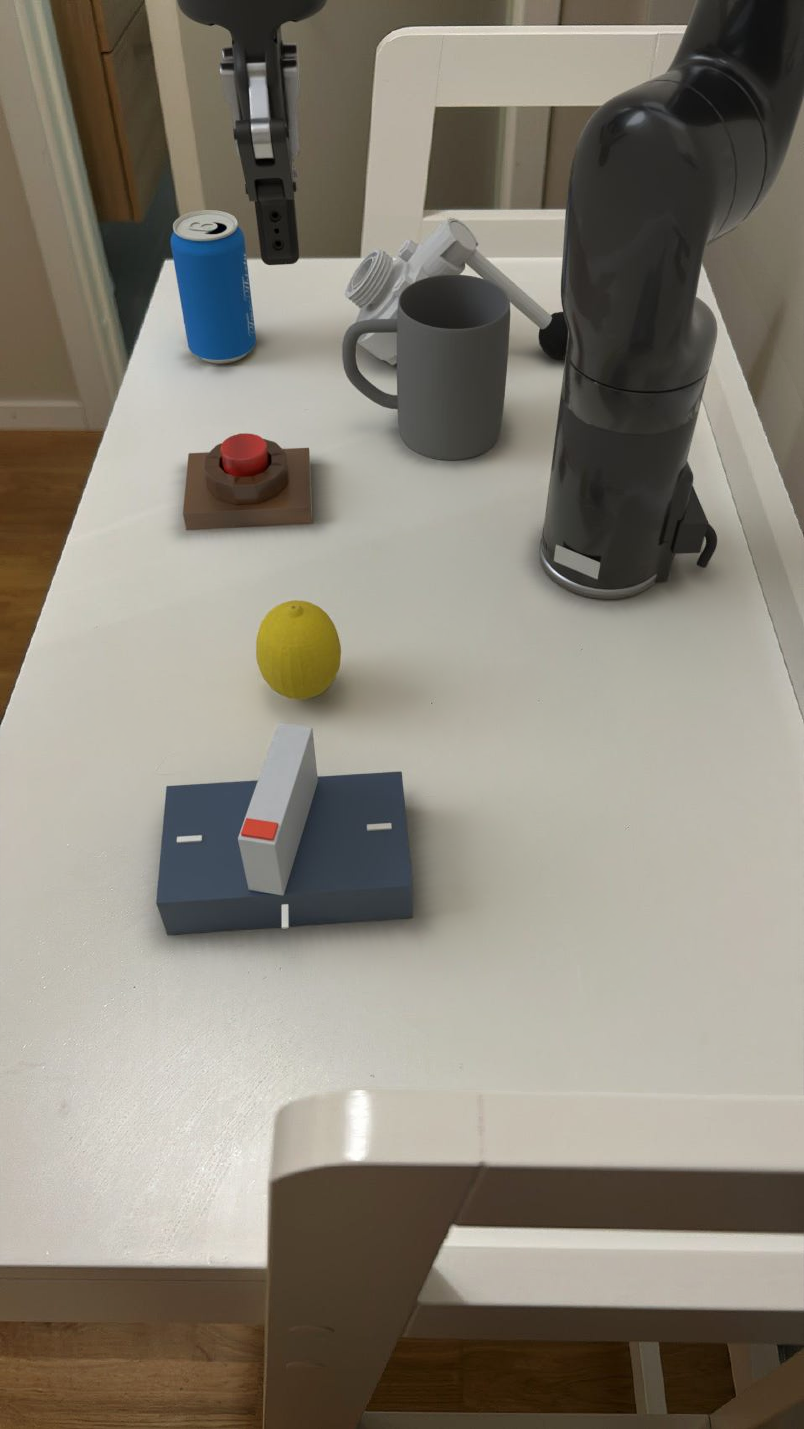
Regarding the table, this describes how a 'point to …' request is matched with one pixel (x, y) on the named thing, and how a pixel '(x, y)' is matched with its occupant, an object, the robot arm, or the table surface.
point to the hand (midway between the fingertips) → (281, 258)
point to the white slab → (279, 809)
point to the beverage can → (213, 285)
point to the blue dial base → (327, 867)
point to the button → (244, 455)
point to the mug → (444, 364)
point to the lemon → (298, 649)
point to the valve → (438, 255)
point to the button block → (248, 491)
